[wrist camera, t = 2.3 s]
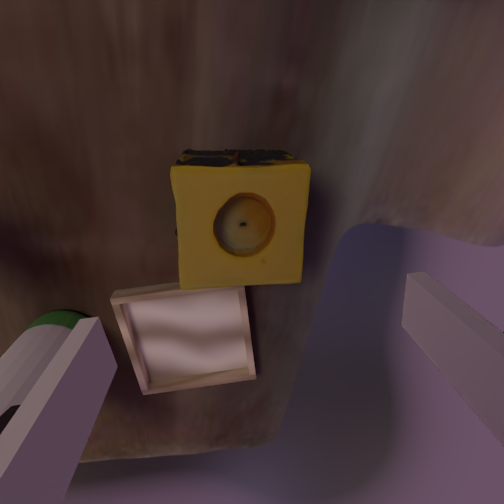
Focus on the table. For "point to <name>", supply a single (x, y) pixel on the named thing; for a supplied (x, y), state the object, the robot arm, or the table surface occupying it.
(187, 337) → the slot frame
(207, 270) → the candle
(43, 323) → the wine bottle
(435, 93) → the table surface
